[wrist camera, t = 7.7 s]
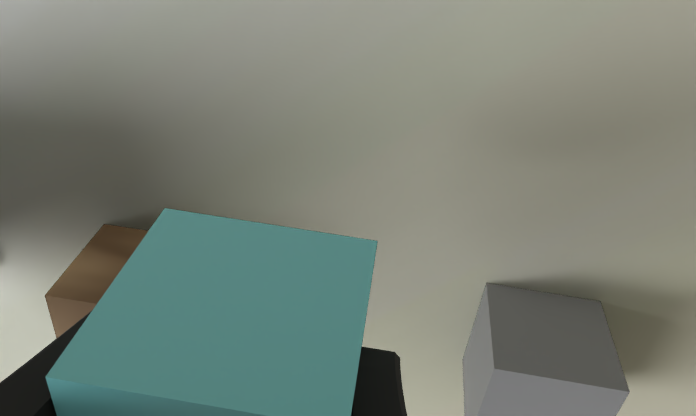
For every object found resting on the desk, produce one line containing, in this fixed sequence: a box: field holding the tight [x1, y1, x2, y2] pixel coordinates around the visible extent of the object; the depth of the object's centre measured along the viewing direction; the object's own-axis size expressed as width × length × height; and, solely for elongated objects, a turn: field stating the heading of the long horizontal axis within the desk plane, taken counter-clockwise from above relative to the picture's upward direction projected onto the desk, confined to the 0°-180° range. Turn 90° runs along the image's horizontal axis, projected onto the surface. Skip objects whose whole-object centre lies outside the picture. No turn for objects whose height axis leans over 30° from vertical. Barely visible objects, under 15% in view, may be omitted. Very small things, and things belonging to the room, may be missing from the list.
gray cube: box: [463, 283, 629, 416], centre depth 20 cm, size 4×4×4 cm
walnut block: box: [45, 224, 148, 338], centre depth 21 cm, size 4×4×4 cm
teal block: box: [46, 208, 377, 416], centre depth 10 cm, size 4×4×4 cm
